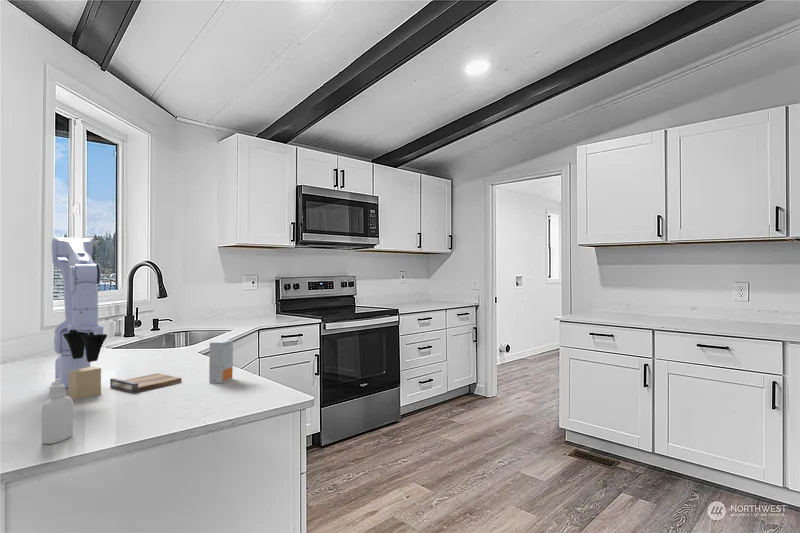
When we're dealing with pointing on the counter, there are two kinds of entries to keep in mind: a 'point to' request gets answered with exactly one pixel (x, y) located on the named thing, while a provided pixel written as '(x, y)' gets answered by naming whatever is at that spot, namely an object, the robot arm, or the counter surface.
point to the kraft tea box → (84, 382)
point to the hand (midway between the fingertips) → (85, 359)
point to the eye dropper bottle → (57, 415)
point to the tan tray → (144, 382)
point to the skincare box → (221, 361)
